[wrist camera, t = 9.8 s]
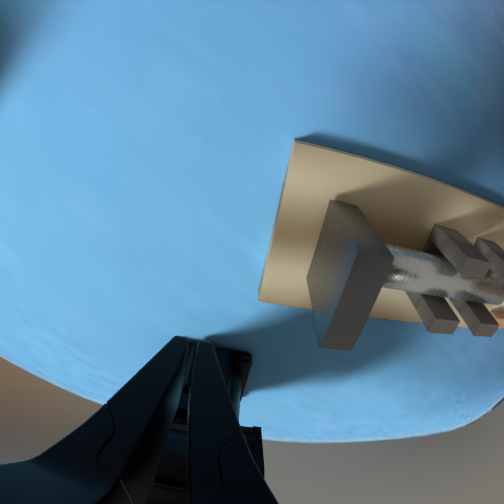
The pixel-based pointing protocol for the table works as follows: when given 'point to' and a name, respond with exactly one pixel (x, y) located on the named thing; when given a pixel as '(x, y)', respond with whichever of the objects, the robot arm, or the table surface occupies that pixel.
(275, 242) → the beige piece
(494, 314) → the picture frame
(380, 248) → the shaft
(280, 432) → the table surface
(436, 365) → the table surface
